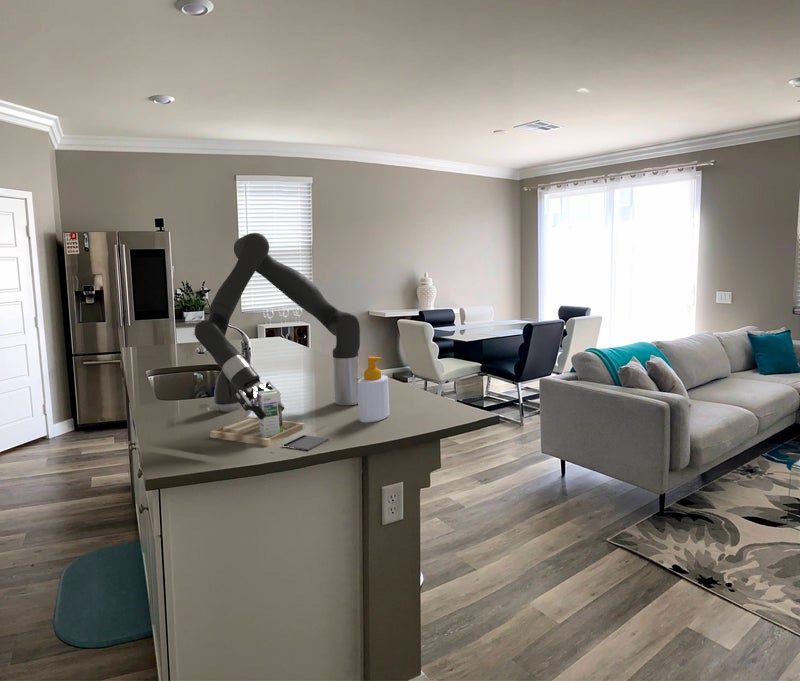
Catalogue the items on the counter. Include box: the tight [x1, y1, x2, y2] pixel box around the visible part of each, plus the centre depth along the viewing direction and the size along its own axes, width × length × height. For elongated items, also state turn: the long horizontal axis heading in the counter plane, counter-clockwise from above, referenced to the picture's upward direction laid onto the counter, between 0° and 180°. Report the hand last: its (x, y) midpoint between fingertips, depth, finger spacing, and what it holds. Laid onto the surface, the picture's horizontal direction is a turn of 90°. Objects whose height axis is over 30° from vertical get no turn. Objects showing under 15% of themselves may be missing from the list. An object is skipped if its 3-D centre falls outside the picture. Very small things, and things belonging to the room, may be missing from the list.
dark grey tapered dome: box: [213, 369, 242, 413], centre depth 205 cm, size 10×10×15 cm
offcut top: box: [223, 418, 259, 434], centre depth 177 cm, size 6×11×2 cm, turn 150°
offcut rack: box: [209, 416, 306, 447], centre depth 174 cm, size 22×17×3 cm
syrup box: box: [257, 388, 284, 438], centre depth 171 cm, size 6×6×14 cm
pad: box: [283, 434, 330, 452], centre depth 167 cm, size 10×10×1 cm
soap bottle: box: [357, 356, 390, 424], centre depth 189 cm, size 13×8×20 cm, turn 148°
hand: (273, 414), depth 171 cm, fingers open, 8 cm apart
